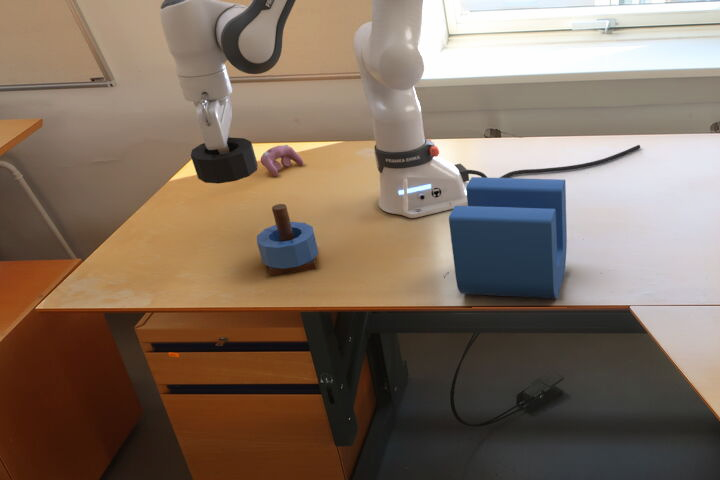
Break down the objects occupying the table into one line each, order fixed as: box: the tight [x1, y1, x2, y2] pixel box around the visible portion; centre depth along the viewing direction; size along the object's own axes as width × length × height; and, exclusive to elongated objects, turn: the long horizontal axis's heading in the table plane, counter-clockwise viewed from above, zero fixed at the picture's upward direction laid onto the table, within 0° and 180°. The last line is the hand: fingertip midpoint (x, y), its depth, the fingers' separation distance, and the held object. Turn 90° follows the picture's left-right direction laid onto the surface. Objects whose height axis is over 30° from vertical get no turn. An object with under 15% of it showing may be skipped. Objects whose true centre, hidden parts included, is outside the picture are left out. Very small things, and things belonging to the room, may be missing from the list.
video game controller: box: [260, 144, 304, 177], centre depth 202 cm, size 10×5×7 cm, turn 144°
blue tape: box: [256, 221, 319, 269], centre depth 160 cm, size 11×11×5 cm
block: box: [448, 176, 568, 299], centre depth 146 cm, size 18×18×18 cm
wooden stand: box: [268, 203, 317, 277], centre depth 158 cm, size 9×9×12 cm
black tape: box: [190, 137, 259, 185], centre depth 152 cm, size 11×11×5 cm
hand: (227, 155), depth 156 cm, fingers closed on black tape, 2 cm apart
